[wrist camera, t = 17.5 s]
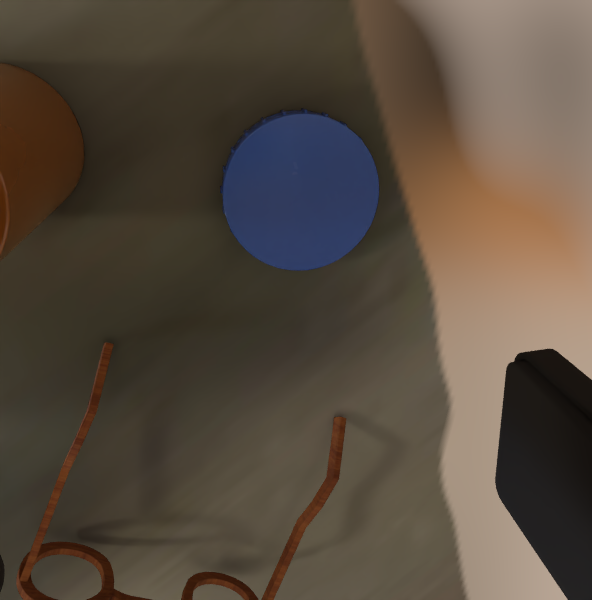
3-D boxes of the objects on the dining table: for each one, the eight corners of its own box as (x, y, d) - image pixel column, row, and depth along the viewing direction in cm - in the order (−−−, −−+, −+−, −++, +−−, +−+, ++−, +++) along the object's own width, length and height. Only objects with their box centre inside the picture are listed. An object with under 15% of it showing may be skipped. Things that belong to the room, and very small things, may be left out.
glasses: (32, 534, 30) (-1, 620, 25) (106, 335, 26) (82, 396, 21) (253, 580, 33) (259, 662, 29) (349, 413, 29) (374, 479, 25)
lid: (370, 102, 23) (380, 104, 22) (372, 252, 26) (381, 263, 24) (210, 115, 22) (210, 119, 21) (230, 268, 25) (231, 280, 24)
